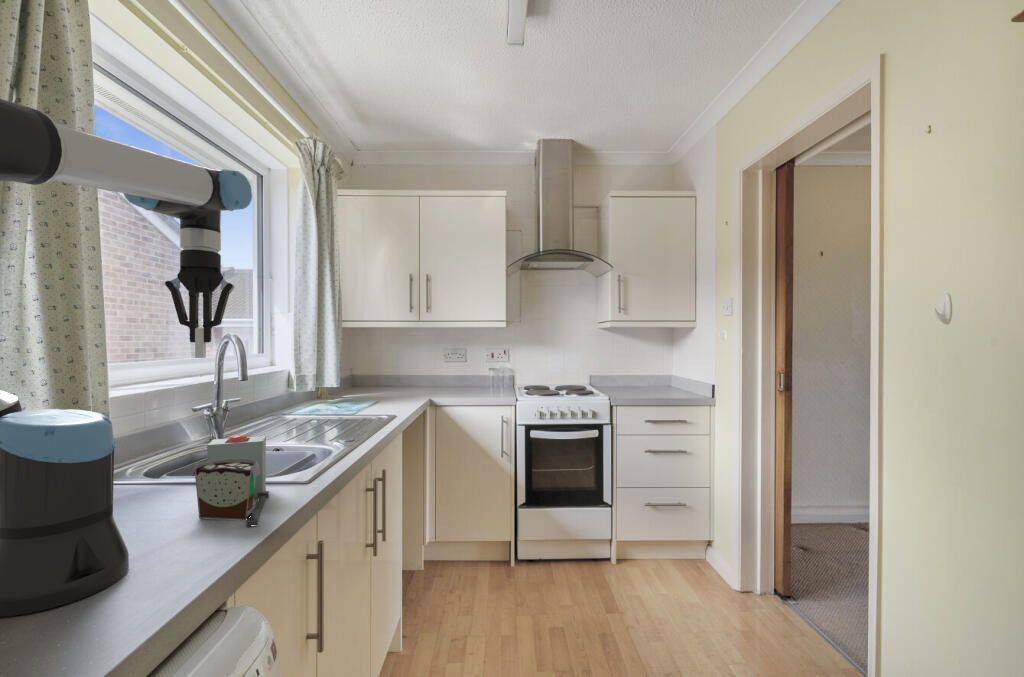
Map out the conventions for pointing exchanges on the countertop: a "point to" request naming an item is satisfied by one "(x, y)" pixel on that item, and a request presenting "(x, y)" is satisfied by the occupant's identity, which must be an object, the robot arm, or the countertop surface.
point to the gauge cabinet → (242, 455)
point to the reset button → (237, 438)
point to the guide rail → (257, 509)
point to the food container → (226, 488)
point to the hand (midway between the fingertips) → (200, 357)
